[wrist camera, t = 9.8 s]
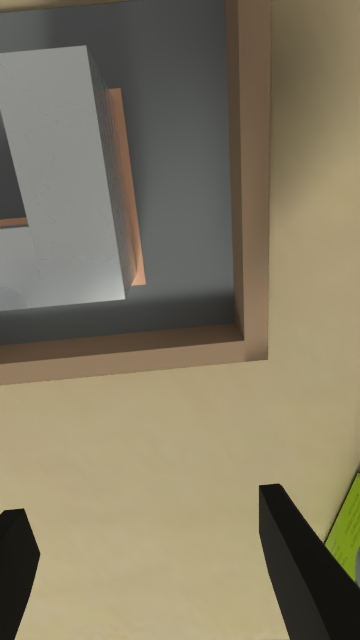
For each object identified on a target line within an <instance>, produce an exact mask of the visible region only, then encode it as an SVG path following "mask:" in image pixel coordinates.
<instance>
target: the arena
mask: <svg viewBox="0 0 360 640" xmlns="http://www.w3.org/2000/svg"><path fill="white" fill-rule="evenodd" d="M84 45H86V46H87V48H88V50H89V52H90V54H91V56H92V58H93V59H94V61H95V63H96V65H97V67H98V69H99V71H100V73H101V75H102V77H103V79H104V80H105V82H106V84H107V86H108V88H109V90H110V92H111V94H112V96H113V101H114V108H115V115H116V123H117V130H118V137H119V145H120V152H121V159H122V166H123V174H124V181H125V188H126V196H127V203H128V210H129V218H130V225H131V232H132V240H133V247H134V254H135V261H136V269H137V273H136V276H135V278H134V280H133V283H132V285H131V287H130V290H129V292H128V294H127V297H126V299H122V300H111V301H101V302H90V303H80V304H69V305H58V306H48V307H37V308H27V309H16V310H5V311H0V385H9V384H20V383H30V382H41V381H51V380H61V379H72V378H82V377H92V376H103V375H113V374H123V373H134V372H144V371H154V370H165V369H175V368H185V367H196V366H206V365H216V364H227V363H237V362H247V361H258V360H268V302H269V199H270V96H271V0H135V1H124V2H113V3H103V4H92V5H81V6H71V7H60V8H49V9H39V10H28V11H17V12H7V13H0V53H8V52H19V51H30V50H41V49H52V48H63V47H73V46H84ZM24 223H28V221H27V216H26V212H25V208H24V204H23V200H22V196H21V192H20V188H19V184H18V180H17V176H16V172H15V168H14V164H13V159H12V155H11V151H10V147H9V143H8V139H7V135H6V131H5V127H4V123H3V119H2V115H1V111H0V226H3V225H14V224H24Z"/></svg>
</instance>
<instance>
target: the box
mask: <svg viewBox="0 0 360 640" xmlns="http://www.w3.org/2000/svg"><path fill="white" fill-rule="evenodd" d="M325 546H326V547H327V549H328V550H329V551H330V552H331V554H332V555H333V556H334V558H335V559H336V560H337V561H338V563H339V564H340V565H341V566H342V567H343V569H344V570H345V571H346V572H347V573H348V575H349V576H350V577H351V578H352V579H353V580H354V582H355V583H356V584H357V585H358V586H359V587H360V473H357V476H356V478H355V480H354V483H353V485H352V487H351V489H350V491H349V493H348V495H347V498H346V500H345V502H344V504H343V506H342V508H341V511H340V513H339V515H338V517H337V519H336V521H335V524H334V526H333V528H332V530H331V532H330V534H329V537H328V539H327V541H326V543H325Z"/></svg>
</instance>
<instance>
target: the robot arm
mask: <svg viewBox="0 0 360 640" xmlns="http://www.w3.org/2000/svg"><path fill="white" fill-rule="evenodd" d="M259 534H260V539H261V543H262V547H263V552H264V556H265V560H266V565H267V569H268V573H269V576H270V579H271V582H272V585H273V589H274V592H275V595H276V598H277V601H278V604H279V607H280V610H281V613H282V616H283V619H284V622H285V626H286V629H287V632H288V635H289V638H290V640H360V587H359V586H358V585H357V584H356V583H355V582H354V580H353V579H352V578H351V577H350V576H349V575H348V573H347V572H346V571H345V570H344V569H343V567H342V566H341V565H340V564H339V563H338V561H337V560H336V559H335V558H334V556H333V555H332V554H331V552H330V551H329V550H328V549H327V547H326V546H325V545H324V544H323V542H322V541H321V540H320V539H319V537H318V536H317V535H316V533H315V532H314V531H313V529H312V528H311V527H310V525H309V524H308V523H307V521H306V520H305V519H304V517H303V516H302V514H301V513H300V512H299V510H298V509H297V507H296V506H295V505H294V503H293V502H292V500H291V499H290V497H289V496H288V494H287V493H286V491H285V490H284V488H283V486H281V485H280V484H269V485H259ZM39 558H40V551H39V549H38V546H37V543H36V540H35V537H34V535H33V532H32V529H31V526H30V524H29V521H28V518H27V515H26V513H25V510H24V509H14V510H4V511H3V512H2V513H1V515H0V640H14V639H15V636H16V634H17V631H18V628H19V625H20V622H21V619H22V617H23V614H24V611H25V608H26V605H27V603H28V600H29V597H30V593H31V590H32V586H33V582H34V578H35V574H36V570H37V566H38V562H39Z"/></svg>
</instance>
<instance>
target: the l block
mask: <svg viewBox="0 0 360 640" xmlns="http://www.w3.org/2000/svg"><path fill="white" fill-rule="evenodd" d="M0 111H1V115H2V119H3V123H4V127H5V131H6V135H7V139H8V143H9V147H10V151H11V155H12V159H13V164H14V168H15V172H16V176H17V180H18V184H19V188H20V192H21V196H22V200H23V204H24V208H25V212H26V216H27V221H28V223H24V224H14V225H3V226H0V311H5V310H16V309H27V308H37V307H48V306H58V305H69V304H80V303H90V302H101V301H111V300H122V299H126V297H127V294H128V292H129V290H130V287H131V285H132V283H133V280H134V278H135V276H136V273H137V269H136V261H135V254H134V247H133V240H132V232H131V225H130V218H129V210H128V203H127V196H126V188H125V181H124V174H123V166H122V159H121V152H120V145H119V137H118V130H117V123H116V115H115V108H114V101H113V96H112V94H111V92H110V90H109V88H108V86H107V84H106V82H105V80H104V79H103V77H102V75H101V73H100V71H99V69H98V67H97V65H96V63H95V61H94V59H93V58H92V56H91V54H90V52H89V50H88V48H87V46H86V45H84V46H73V47H63V48H52V49H41V50H30V51H19V52H8V53H0Z"/></svg>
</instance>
